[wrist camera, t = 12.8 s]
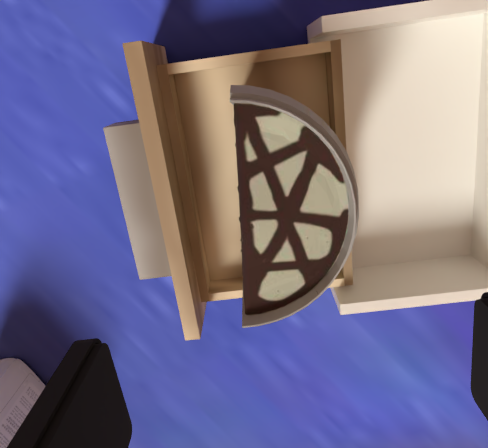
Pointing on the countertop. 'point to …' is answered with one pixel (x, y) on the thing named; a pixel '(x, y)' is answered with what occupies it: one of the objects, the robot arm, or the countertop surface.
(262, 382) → the countertop surface
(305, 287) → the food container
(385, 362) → the countertop surface
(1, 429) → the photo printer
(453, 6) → the dock
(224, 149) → the sliding tray
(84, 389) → the robot arm
